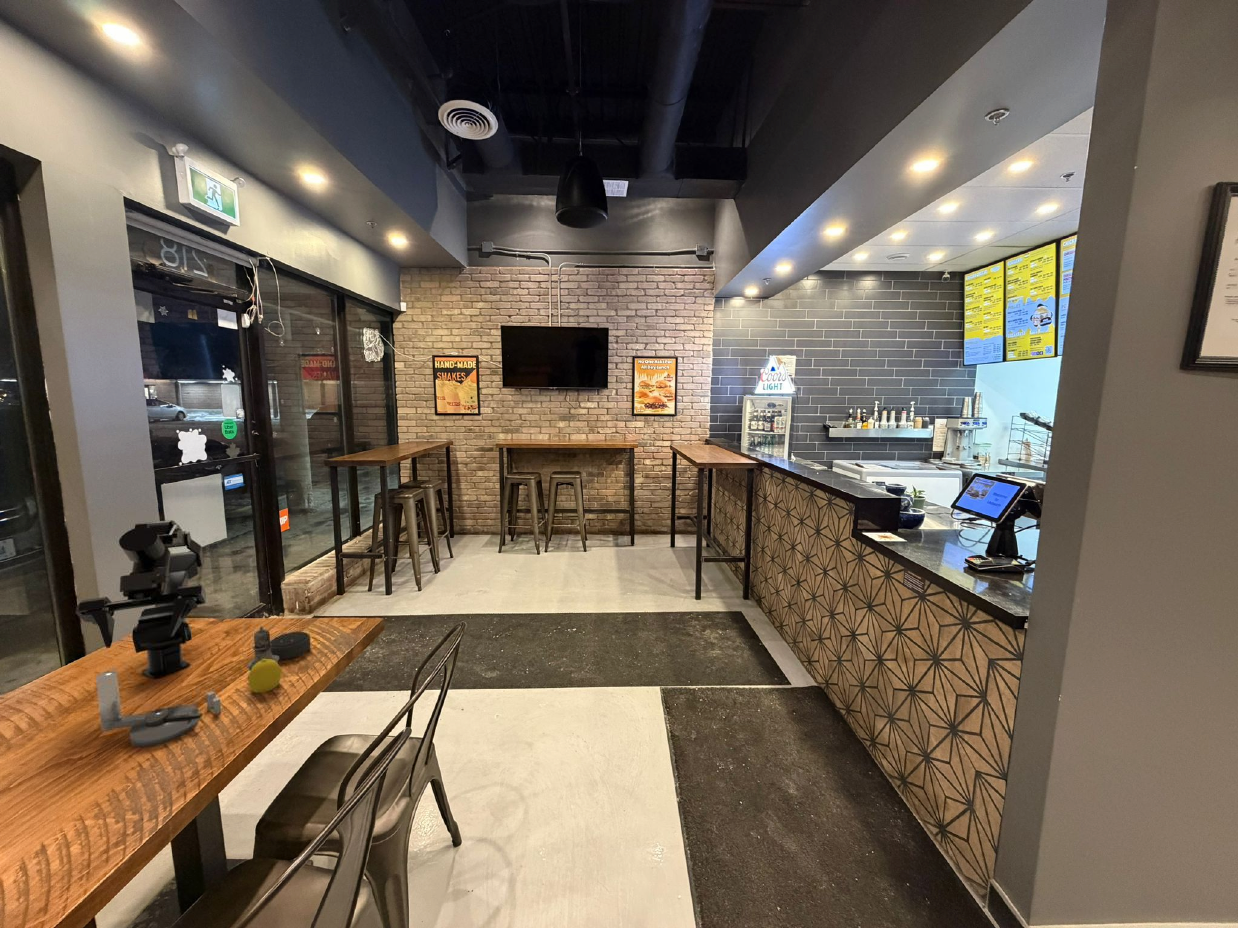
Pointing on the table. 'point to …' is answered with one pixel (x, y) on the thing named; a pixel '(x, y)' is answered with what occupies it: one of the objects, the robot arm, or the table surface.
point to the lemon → (264, 676)
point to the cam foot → (142, 716)
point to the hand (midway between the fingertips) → (140, 641)
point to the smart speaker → (290, 645)
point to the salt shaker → (262, 647)
